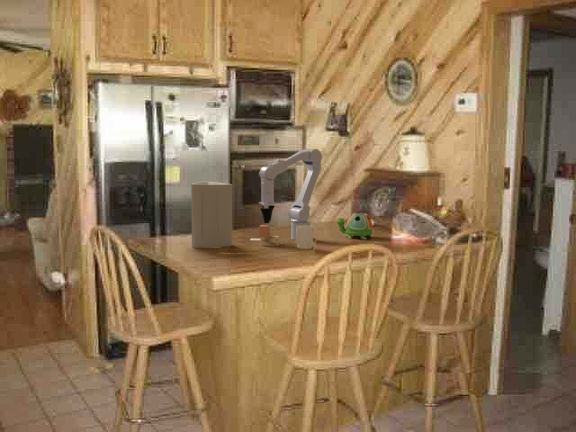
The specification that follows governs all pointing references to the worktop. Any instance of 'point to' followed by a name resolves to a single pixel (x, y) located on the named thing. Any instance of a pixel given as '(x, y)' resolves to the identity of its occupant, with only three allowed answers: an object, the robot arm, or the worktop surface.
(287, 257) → the worktop surface
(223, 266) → the worktop surface
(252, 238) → the build board
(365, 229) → the turtle holder
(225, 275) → the worktop surface
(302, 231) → the white cup
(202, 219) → the ribbed grey pillar
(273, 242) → the maple brick
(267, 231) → the rust block
